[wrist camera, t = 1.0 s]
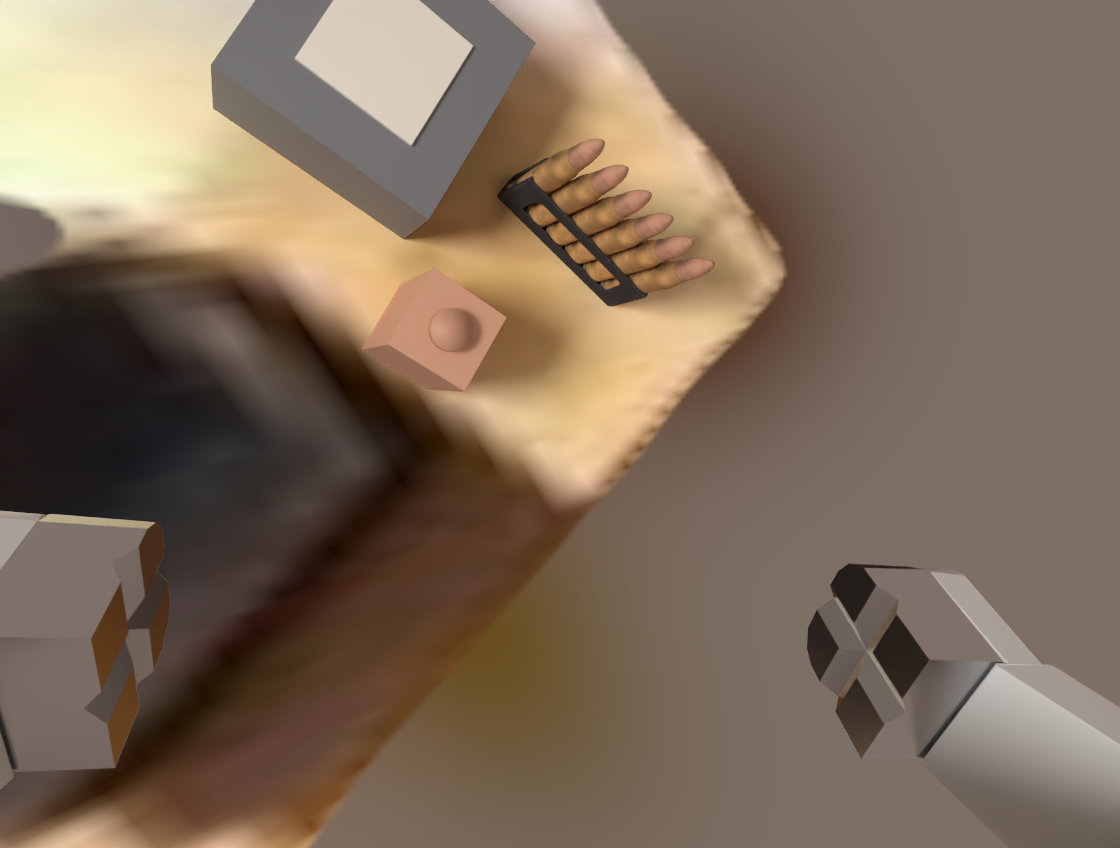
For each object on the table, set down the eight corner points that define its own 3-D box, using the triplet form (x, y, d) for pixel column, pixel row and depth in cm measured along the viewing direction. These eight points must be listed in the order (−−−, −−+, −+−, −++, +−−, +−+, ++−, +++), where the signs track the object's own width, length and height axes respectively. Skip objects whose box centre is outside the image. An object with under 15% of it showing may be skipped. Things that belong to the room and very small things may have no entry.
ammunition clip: (624, 287, 50) (733, 263, 40) (609, 307, 50) (715, 288, 39) (513, 175, 46) (600, 114, 36) (496, 196, 46) (579, 140, 35)
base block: (213, 108, 39) (210, 63, 33) (328, -61, 41) (344, -130, 35) (403, 239, 44) (429, 218, 38) (498, 82, 46) (536, 41, 40)
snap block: (361, 349, 43) (390, 344, 35) (399, 285, 44) (437, 266, 36) (426, 388, 45) (468, 391, 37) (462, 326, 46) (510, 316, 38)
